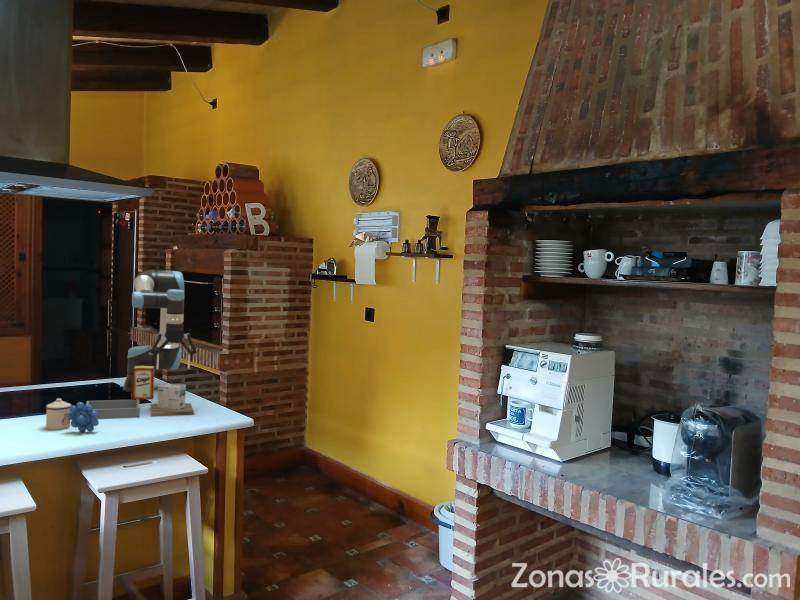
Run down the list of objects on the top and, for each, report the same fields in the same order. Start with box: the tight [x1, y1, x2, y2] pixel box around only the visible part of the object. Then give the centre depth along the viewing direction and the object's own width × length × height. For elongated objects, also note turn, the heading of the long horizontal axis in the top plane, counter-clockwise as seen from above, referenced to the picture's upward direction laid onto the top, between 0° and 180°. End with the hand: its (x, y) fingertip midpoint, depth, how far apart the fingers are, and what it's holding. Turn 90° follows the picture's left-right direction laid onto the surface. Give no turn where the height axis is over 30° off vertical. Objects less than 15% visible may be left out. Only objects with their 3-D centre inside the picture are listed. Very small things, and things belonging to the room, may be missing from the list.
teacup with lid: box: [45, 398, 72, 431], centre depth 255 cm, size 12×9×12 cm
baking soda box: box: [131, 366, 155, 400], centre depth 315 cm, size 10×6×16 cm
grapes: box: [67, 401, 100, 433], centre depth 247 cm, size 12×7×12 cm, turn 100°
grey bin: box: [85, 399, 140, 420], centre depth 281 cm, size 19×22×4 cm
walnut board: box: [150, 402, 195, 417], centre depth 291 cm, size 18×18×2 cm
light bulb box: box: [157, 383, 187, 410], centre depth 290 cm, size 11×7×11 cm, turn 84°
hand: (173, 368), depth 290 cm, fingers open, 13 cm apart
